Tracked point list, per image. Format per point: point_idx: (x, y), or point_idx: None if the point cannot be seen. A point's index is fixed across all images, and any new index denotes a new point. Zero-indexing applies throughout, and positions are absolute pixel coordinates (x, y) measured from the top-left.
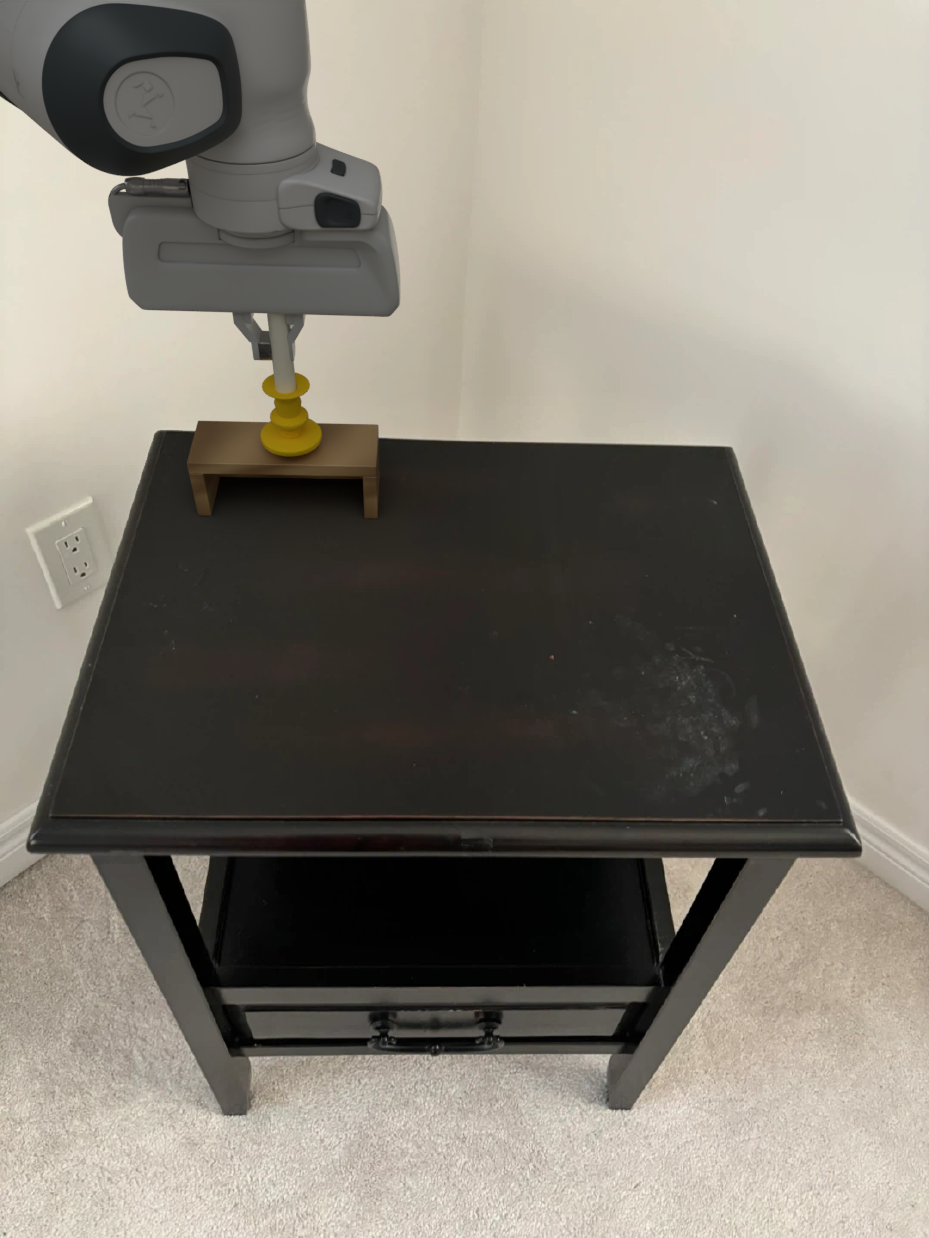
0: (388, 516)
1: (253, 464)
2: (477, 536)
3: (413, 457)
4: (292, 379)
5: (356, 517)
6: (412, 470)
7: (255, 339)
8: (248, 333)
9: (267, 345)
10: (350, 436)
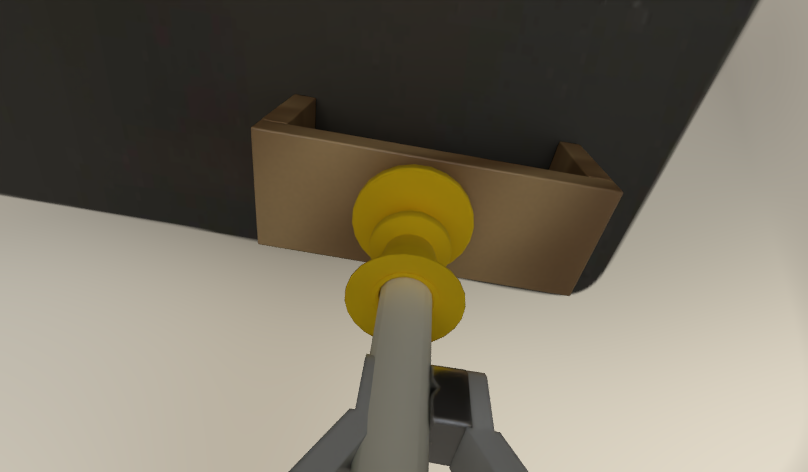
0: (277, 98)
1: (495, 169)
2: (120, 21)
3: (247, 223)
4: (382, 308)
5: (329, 103)
6: (246, 197)
7: (479, 441)
8: (505, 469)
9: (439, 413)
10: (305, 220)
